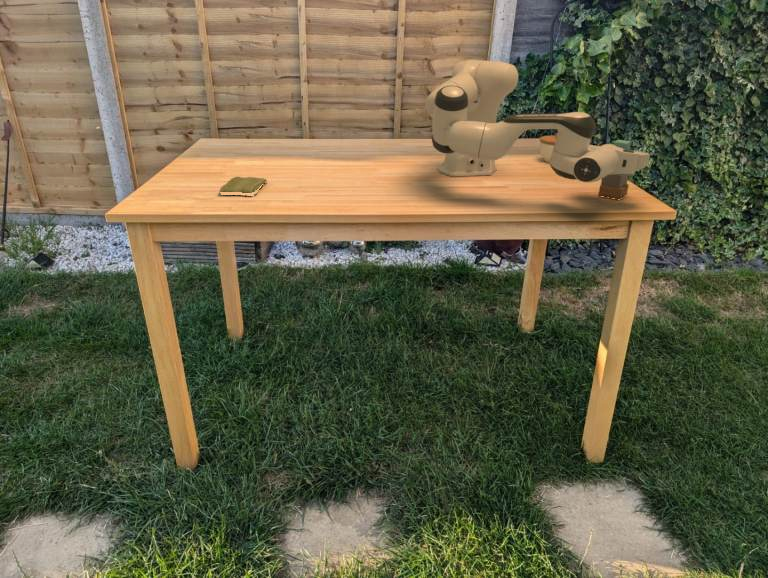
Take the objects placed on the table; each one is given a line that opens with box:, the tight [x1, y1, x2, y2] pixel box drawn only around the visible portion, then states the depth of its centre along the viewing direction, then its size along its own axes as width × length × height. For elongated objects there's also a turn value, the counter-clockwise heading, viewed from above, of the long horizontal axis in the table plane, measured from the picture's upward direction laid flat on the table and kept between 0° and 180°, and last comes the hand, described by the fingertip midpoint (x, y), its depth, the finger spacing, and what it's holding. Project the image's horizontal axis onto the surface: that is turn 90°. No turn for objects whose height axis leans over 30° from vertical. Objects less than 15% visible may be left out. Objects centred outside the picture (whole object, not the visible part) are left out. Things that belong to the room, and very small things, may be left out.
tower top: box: [600, 174, 630, 188], centre depth 178 cm, size 6×6×4 cm
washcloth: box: [219, 176, 268, 193], centre depth 189 cm, size 13×18×3 cm
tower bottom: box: [598, 183, 630, 200], centre depth 180 cm, size 7×7×4 cm
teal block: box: [612, 139, 632, 175], centre depth 175 cm, size 4×4×10 cm
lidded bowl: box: [539, 132, 558, 164], centre depth 220 cm, size 13×13×11 cm
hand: (621, 151), depth 175 cm, fingers open, 8 cm apart
